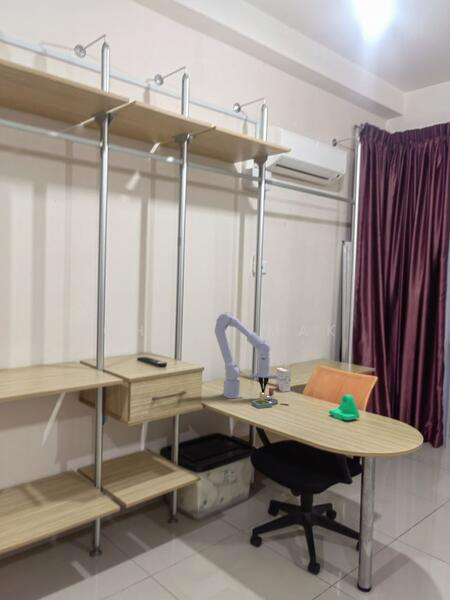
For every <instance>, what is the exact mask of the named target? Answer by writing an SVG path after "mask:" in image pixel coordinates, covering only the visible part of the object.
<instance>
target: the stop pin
mask: <svg viewBox="0 0 450 600" xmlns="http://www.w3.org/2000/svg"><path fill="white" fill-rule="evenodd" d="M265 395H266V392H265V393H264V392H262V391H260V392H259V397H258V398H259V404H265Z"/></svg>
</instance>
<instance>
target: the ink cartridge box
mask: <svg viewBox="0 0 450 600" xmlns="http://www.w3.org/2000/svg"><path fill="white" fill-rule="evenodd" d="M291 373H292V371H291V365H290V364H288V363H286V362H283V367H277V368H276V373H275V375H278V379H275V380H276V381H275V389H277V390H278V391H280V392H282V393H285V392H291V379H292V377H291V376H292V374H291Z"/></svg>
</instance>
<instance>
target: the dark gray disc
mask: <svg viewBox="0 0 450 600" xmlns="http://www.w3.org/2000/svg"><path fill="white" fill-rule="evenodd" d="M259 398H260V397H258V398H257V399H255V401H256V400H259ZM268 402H270V403H272V406H276V405H278V404H279V400H278V399H276V398H274V397H272V398H271V401H268ZM265 404H267V403H266V402H265Z"/></svg>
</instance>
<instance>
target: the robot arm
mask: <svg viewBox="0 0 450 600" xmlns="http://www.w3.org/2000/svg"><path fill="white" fill-rule="evenodd" d="M215 323H216V324H215V328H214V333H215V337H216V340H217V343H218V347H219V349H220V353H221V356H222V359H223V361H224V369H225V379H224V381H223V389H222V390H223V393H221V395H222V396H223V397H225V398H227V399H229V400H230V399H240V398H243V396H242V395H240V389H241V388H240V386H241V385H240V383H241V382H240V377H239V376H240V375H241V368H240V367H239V366H238V365H237V362H236V361H235V359H234V356H233V352H232V349H231V347H230V344H229V341H228V338H227V335H226V330H227V329H228V327H234V328H235V329H237V330H238V331H239V332H240V333H242V334H243V335H244V336H245V337H246V340H247V342H248V343H250V344H251V346H253V347H254V349H257V353H258V362H257V363H258V364H257V365H258V366H257V367H258V368H257V373H249V375H248V376H249V379H257V381H258V382H259V385H260V389H261V392H264V393H265V394H266V392H265V391H266V387H267V385H268V383H269V380H276V379H278V375H276V374H273V373H270V360H271V359H270V351H271V345H270V343H268V342H267V341H266V340H264V339H263V338H262V337H260V336H259V335H260V334H259V333H258V332H255V331H253V332H252V331H250V329H248V328H247V326H245V325H244V324H243V323H242V322H241V321H240V320H239V319H238V318H237V317H236V316H234V315H233V314H232V313H231V312H229V311H228V312H224V313H221V314H220V315H219V316H218V317H217V319H216V322H215Z"/></svg>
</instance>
